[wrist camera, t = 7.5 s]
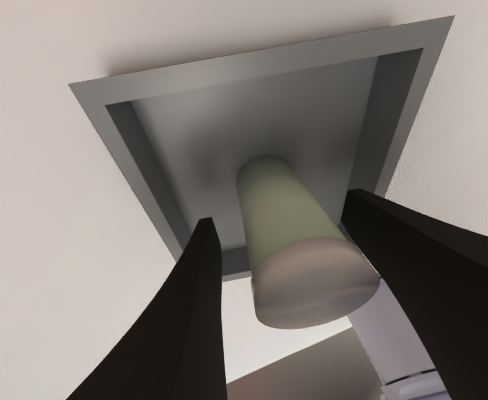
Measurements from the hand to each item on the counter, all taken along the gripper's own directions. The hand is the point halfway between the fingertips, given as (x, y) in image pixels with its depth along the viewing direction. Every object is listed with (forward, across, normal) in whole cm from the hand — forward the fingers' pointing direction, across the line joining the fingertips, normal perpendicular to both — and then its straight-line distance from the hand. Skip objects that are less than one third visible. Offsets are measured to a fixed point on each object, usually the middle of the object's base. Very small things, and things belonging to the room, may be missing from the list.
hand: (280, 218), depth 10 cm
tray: (+4, 0, 0) cm, 4 cm away
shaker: (+4, 0, 0) cm, 4 cm away
